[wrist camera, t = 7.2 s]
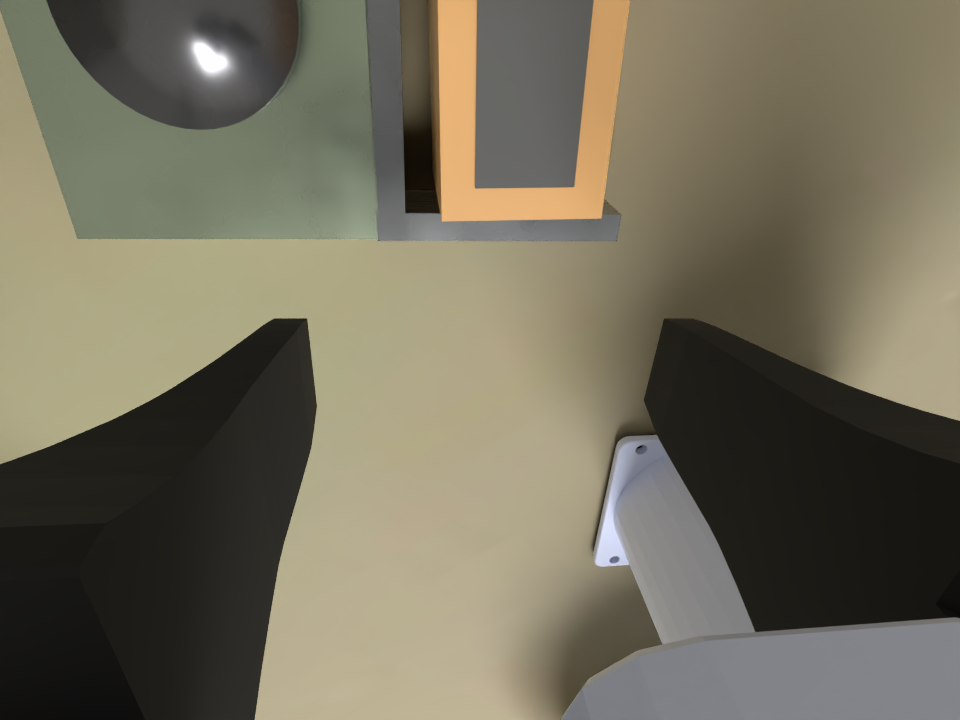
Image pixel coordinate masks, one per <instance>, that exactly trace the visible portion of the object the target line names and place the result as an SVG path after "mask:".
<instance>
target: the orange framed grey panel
mask: <svg viewBox="0 0 960 720" xmlns="http://www.w3.org/2000/svg"><path fill="white" fill-rule="evenodd" d="M428 4H429V44H430V84H431V123H432V163H433V177H434V183H435V188H436V194H437V199H438V204H439V210H440V215H441V220H442V222H443V221H497V220H551V219H601V218H602V210H603V203H604V195H605V187H606V180H607V172H608V165H609V157H610V150H611V142H612V134H613V127H614V119H615V112H616V104H617V96H618V89H619V81H620V74H621V66H622V58H623V51H624V43H625V36H626V28H627V21H628V13H629V5H630V0H428Z"/></svg>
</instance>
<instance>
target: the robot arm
mask: <svg viewBox="0 0 960 720" xmlns="http://www.w3.org/2000/svg"><path fill="white" fill-rule="evenodd" d="M644 402H645V404H646V407H647V410H648V413H649V415H650V418H651V421H652V424H653V426H654V428H655V431H656V433H657V435H644V436H628V437H624V438H622V439H621V440H620V441H619V442H618V443H617V445H616V449H615V454H614V459H613V464H612V468H611V473H610V478H609V482H608V487H607V492H606V496H605V501H604V506H603V510H602V515H601V520H600V524H599V529H598V534H597V538H596V543H595V548H594V552H593V559H594V562H595V564H596V565H597V566H601V567H606V566H620V565H630V567H631V569H632V572H633V574H634V577H635V579H636V582H637V584H638V586H639V589H640V591H641V594H642V596H643V598H644V601H645V603H646V606H647V608H648V611H649V613H650V615H651V618H652V620H653V623H654V625H655V628H656V630H657V632H658V635H659V637H660V640H661V642H662V645H658V646H654V647H649V648H645V649H641V650H637V651H635V652H634V653H632V654H630V655H628V656H627V657H625V658H623V659H621V660H620V661H618V662H616V663H615V664H613V665H611V666H609V667H608V668H606V669H604V670H602V671H601V672H599V673H597V674H596V675H594V676H592V677H590V678H589V679H588V680H587V682H586V683H585V684H584V686H583V687H582V689H581V690H580V692H579V693H578V694H577V696H576V697H575V699H574V700H573V702H572V703H571V704H570V706H569V707H568V709H567V710H566V712H565V713H564V715H563V716H562V718H561V719H560V720H960V421H958V420H954V419H950V418H947V417H943V416H940V415H936V414H932V413H929V412H925V411H922V410H919V409H915V408H912V407H909V406H906V405H902V404H899V403H896V402H893V401H890V400H888V399H885V398H882V397H879V396H876V395H873V394H870V393H867V392H865V391H862V390H859V389H856V388H853V387H851V386H848V385H846V384H843V383H840V382H838V381H836V380H833V379H831V378H828V377H826V376H824V375H821V374H819V373H816V372H814V371H812V370H809V369H807V368H805V367H802V366H800V365H798V364H796V363H793V362H791V361H789V360H787V359H784V358H782V357H780V356H778V355H776V354H774V353H772V352H769V351H767V350H765V349H763V348H761V347H759V346H757V345H754V344H752V343H750V342H748V341H746V340H744V339H742V338H739V337H737V336H735V335H733V334H731V333H729V332H726V331H724V330H722V329H719V328H717V327H715V326H712V325H710V324H707V323H704V322H702V321H698V320H695V319H664V322H663V326H662V330H661V334H660V338H659V342H658V346H657V350H656V354H655V358H654V362H653V366H652V370H651V374H650V378H649V382H648V386H647V390H646V394H645V398H644ZM316 408H317V404H316V395H315V386H314V377H313V368H312V359H311V350H310V341H309V332H308V323H307V319H273V320H271V321H269V322H268V323H266V324H265V325H263V326H262V327H260V328H259V329H258V330H256V331H255V332H254V333H252V334H251V335H250V336H248V337H247V338H245V339H244V340H243V341H241V342H240V343H239V344H237V345H236V346H235V347H233V348H232V349H230V350H229V351H228V352H226V353H225V354H223V355H222V356H221V357H219V358H218V359H217V360H215V361H214V362H212V363H211V364H209V365H208V366H206V367H204V368H203V369H201V370H200V371H198V372H197V373H195V374H194V375H192V376H190V377H189V378H187V379H186V380H184V381H183V382H181V383H180V384H178V385H177V386H175V387H173V388H172V389H170V390H168V391H167V392H165V393H163V394H161V395H160V396H158V397H156V398H154V399H152V400H151V401H149V402H147V403H145V404H143V405H141V406H139V407H137V408H135V409H133V410H131V411H129V412H127V413H125V414H123V415H121V416H119V417H117V418H115V419H113V420H111V421H109V422H106V423H104V424H102V425H99V426H97V427H95V428H92V429H90V430H88V431H85V432H83V433H81V434H78V435H76V436H73V437H71V438H69V439H66V440H64V441H62V442H59V443H57V444H55V445H52V446H50V447H47V448H44V449H42V450H39V451H36V452H34V453H31V454H28V455H25V456H23V457H20V458H17V459H14V460H11V461H9V462H6V463H2V464H0V720H254V719H255V712H256V705H257V698H258V690H259V683H260V676H261V669H262V663H263V656H264V650H265V644H266V637H267V631H268V624H269V618H270V612H271V606H272V600H273V594H274V589H275V583H276V577H277V571H278V565H279V561H280V557H281V553H282V549H283V544H284V541H285V537H286V534H287V530H288V527H289V524H290V520H291V517H292V513H293V510H294V506H295V503H296V499H297V496H298V493H299V489H300V486H301V482H302V479H303V475H304V472H305V468H306V465H307V461H308V457H309V454H310V450H311V445H312V438H313V431H314V424H315V416H316ZM641 445H643V446H642V447H641V448H638V449H636V448H637V447H639V446H641Z"/></svg>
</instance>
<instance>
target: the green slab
mask: <svg viewBox="0 0 960 720" xmlns="http://www.w3.org/2000/svg"><path fill="white" fill-rule="evenodd" d="M0 10H1V13H2V16H3V19H4V22H5V25H6V28H7V31H8V34H9V37H10V40H11V43H12V46H13V49H14V52H15V55H16V58H17V61H18V64H19V67H20V70H21V73H22V76H23V79H24V81H25V84H26V87H27V90H28V93H29V96H30V99H31V102H32V105H33V108H34V111H35V114H36V117H37V120H38V123H39V126H40V129H41V132H42V135H43V138H44V141H45V144H46V147H47V150H48V152H49V155H50V158H51V161H52V164H53V167H54V170H55V173H56V176H57V179H58V182H59V185H60V188H61V191H62V194H63V197H64V200H65V203H66V206H67V209H68V212H69V215H70V218H71V221H72V224H73V226H74V229H75V232H76V235H77V238H78V239H378V241H617V237H618V231H619V226H620V220H621V214H620V213H619V212H618V211H617V210H616V209H615V208H613V207H612V206H611V205H610V204H609V203H608V202H607V201H606V200H605V199H604V203H603V210H602V218H601V219H551V220H497V221H443V222H442V220H441V215H440V210H439V204H438V199H437V194H436V190H405V171H404V134H403V96H402V59H401V21H400V0H0Z"/></svg>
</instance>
